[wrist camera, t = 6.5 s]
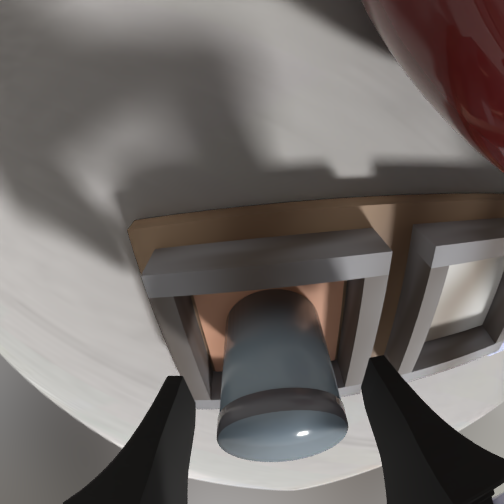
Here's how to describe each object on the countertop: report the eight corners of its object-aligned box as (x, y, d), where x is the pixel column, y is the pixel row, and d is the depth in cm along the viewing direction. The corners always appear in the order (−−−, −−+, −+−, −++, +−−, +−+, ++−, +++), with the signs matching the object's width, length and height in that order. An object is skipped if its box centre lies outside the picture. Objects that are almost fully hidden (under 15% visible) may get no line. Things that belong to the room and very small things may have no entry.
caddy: (527, 194, 11) (559, 214, 9) (483, 329, 17) (501, 355, 14) (134, 220, 12) (108, 254, 10) (190, 378, 18) (184, 417, 15)
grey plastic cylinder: (321, 282, 12) (359, 401, 7) (317, 351, 15) (339, 453, 9) (217, 293, 13) (202, 416, 7) (232, 359, 15) (228, 464, 10)
